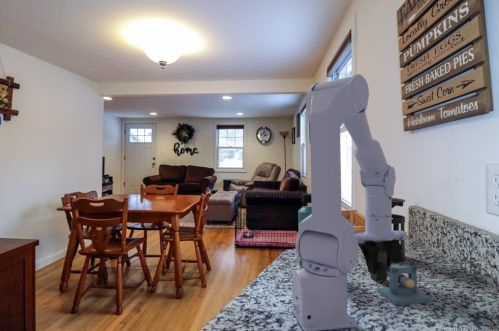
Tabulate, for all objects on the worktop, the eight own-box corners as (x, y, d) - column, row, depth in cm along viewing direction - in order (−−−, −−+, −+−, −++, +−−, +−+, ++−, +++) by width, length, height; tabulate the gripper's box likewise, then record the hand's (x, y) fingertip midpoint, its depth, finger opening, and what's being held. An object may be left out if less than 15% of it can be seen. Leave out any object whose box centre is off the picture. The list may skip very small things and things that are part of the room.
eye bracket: (431, 301, 60) (431, 270, 59) (394, 304, 58) (394, 273, 58) (411, 289, 66) (411, 261, 65) (377, 291, 64) (377, 263, 64)
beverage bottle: (325, 277, 72) (324, 195, 72) (297, 275, 74) (296, 194, 74) (323, 268, 79) (323, 192, 79) (298, 266, 80) (297, 192, 80)
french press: (415, 258, 86) (414, 178, 85) (397, 265, 80) (397, 180, 80) (377, 248, 95) (377, 177, 95) (359, 254, 90) (358, 178, 90)
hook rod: (418, 301, 59) (418, 268, 59) (406, 302, 59) (406, 269, 59) (380, 276, 72) (380, 249, 72) (370, 277, 72) (370, 249, 72)
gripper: (362, 219, 65) (362, 281, 65) (416, 216, 69) (416, 274, 69) (343, 214, 72) (344, 270, 72) (394, 211, 76) (394, 264, 76)
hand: (378, 271), depth 71 cm, fingers closed on hook rod, 3 cm apart
